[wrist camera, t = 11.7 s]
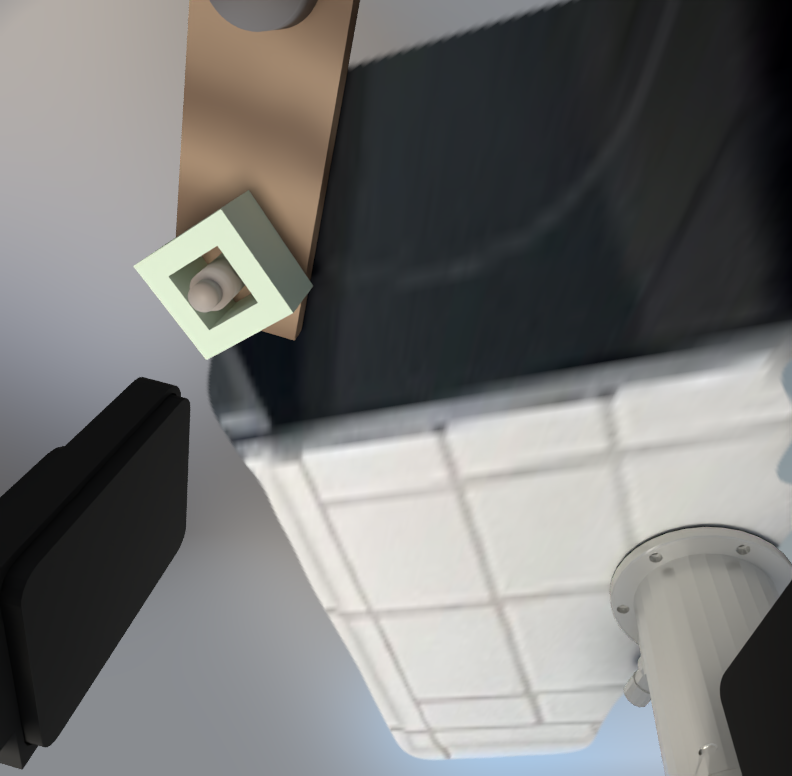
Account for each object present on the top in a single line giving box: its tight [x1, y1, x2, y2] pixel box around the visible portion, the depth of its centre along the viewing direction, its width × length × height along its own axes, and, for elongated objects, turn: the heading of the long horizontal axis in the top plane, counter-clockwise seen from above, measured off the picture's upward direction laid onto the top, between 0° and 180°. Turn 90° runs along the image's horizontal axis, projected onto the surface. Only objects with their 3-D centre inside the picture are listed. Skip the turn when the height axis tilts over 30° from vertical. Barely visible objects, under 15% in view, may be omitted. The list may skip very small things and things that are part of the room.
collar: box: [134, 190, 313, 360], centre depth 37 cm, size 6×6×4 cm
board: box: [176, 0, 360, 340], centre depth 33 cm, size 23×8×8 cm, turn 167°
